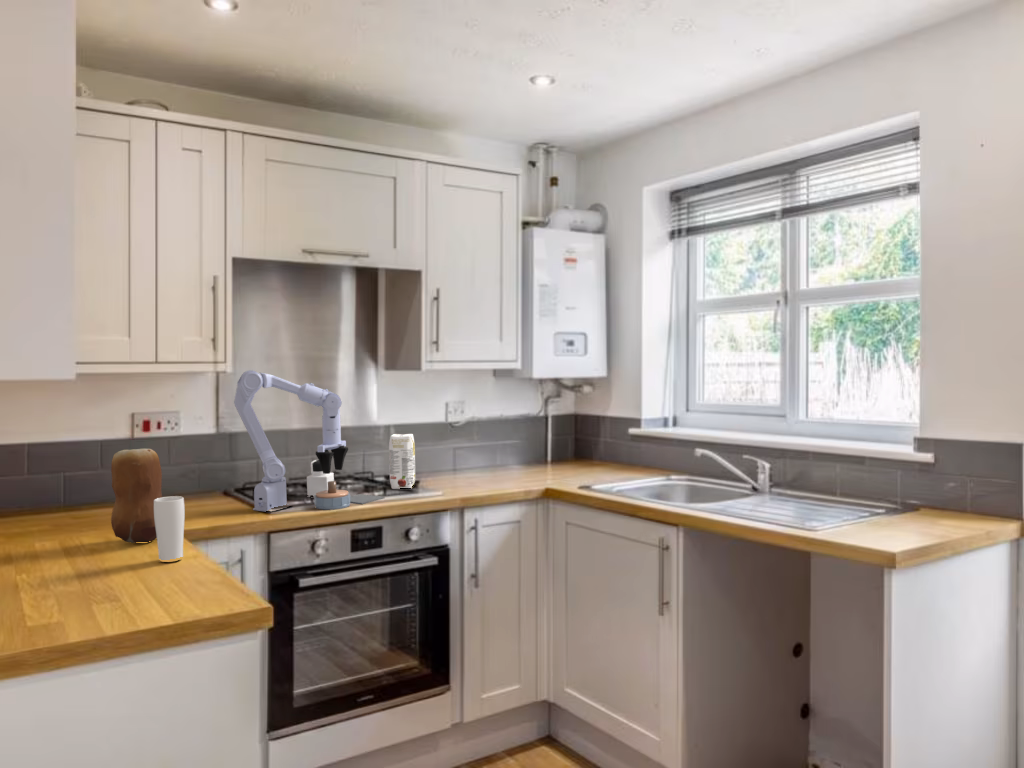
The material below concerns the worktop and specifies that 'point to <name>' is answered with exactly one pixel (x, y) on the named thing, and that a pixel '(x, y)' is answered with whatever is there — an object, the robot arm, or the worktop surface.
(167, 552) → the drinking glass
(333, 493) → the lid
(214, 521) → the worktop surface
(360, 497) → the mat
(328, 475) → the medicine bottle
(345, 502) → the bowl
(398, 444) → the juice carton
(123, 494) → the butternut squash
